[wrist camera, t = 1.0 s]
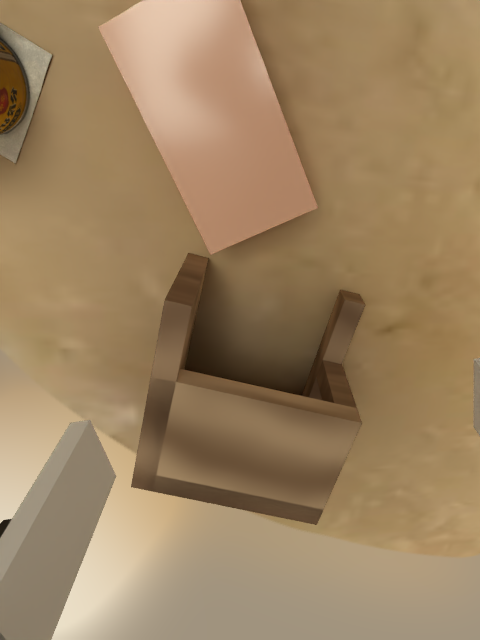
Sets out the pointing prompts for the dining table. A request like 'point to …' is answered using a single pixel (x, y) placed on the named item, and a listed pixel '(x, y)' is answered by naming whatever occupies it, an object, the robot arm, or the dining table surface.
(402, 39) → the dining table surface
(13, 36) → the condiment
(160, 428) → the dock
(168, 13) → the pink rectangular block
